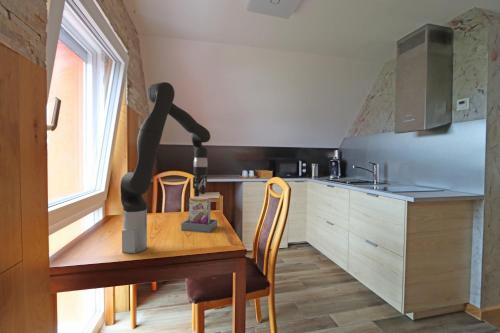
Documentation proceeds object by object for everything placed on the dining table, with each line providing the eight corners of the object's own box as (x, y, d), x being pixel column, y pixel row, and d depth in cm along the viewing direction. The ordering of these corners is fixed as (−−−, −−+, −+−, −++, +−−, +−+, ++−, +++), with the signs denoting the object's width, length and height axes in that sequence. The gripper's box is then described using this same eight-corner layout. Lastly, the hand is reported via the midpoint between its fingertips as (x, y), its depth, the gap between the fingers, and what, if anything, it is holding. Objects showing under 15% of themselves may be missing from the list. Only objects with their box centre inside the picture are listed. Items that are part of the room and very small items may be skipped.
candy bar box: (188, 227, 136) (188, 198, 136) (191, 225, 141) (191, 196, 140) (208, 229, 135) (208, 199, 134) (210, 226, 140) (210, 197, 139)
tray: (210, 232, 131) (210, 225, 131) (181, 230, 134) (181, 223, 134) (217, 226, 143) (217, 219, 142) (190, 224, 146) (190, 217, 145)
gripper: (202, 166, 129) (201, 197, 130) (211, 165, 143) (210, 193, 144) (188, 166, 131) (188, 196, 131) (199, 165, 145) (198, 192, 145)
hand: (200, 195), depth 138 cm, fingers open, 8 cm apart
